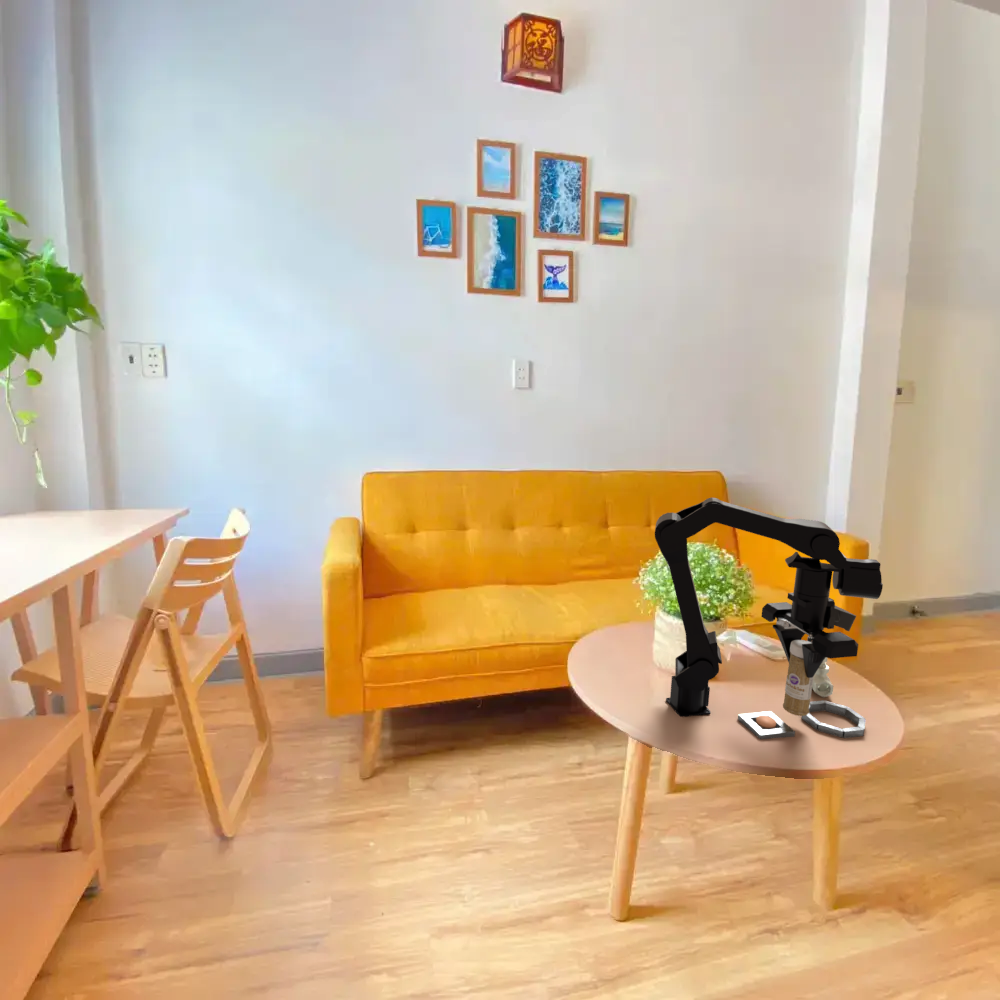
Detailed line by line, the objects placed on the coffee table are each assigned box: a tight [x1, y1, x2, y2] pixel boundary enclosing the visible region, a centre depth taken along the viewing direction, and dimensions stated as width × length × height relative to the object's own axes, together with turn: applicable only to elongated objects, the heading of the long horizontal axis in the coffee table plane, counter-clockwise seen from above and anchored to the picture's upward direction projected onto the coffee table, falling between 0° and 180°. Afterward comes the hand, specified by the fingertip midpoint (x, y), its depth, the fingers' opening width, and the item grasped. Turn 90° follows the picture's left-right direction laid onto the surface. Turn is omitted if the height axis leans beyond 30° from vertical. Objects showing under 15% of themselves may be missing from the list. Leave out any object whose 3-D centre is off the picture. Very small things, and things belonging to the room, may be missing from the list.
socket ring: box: [800, 700, 866, 739], centre depth 115 cm, size 10×10×2 cm
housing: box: [737, 710, 796, 740], centre depth 112 cm, size 7×7×2 cm
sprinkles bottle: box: [782, 639, 814, 717], centre depth 111 cm, size 5×5×13 cm
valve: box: [806, 635, 834, 698], centre depth 127 cm, size 7×7×12 cm
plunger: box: [755, 716, 776, 730], centre depth 112 cm, size 3×3×2 cm
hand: (800, 671), depth 111 cm, fingers closed on sprinkles bottle, 4 cm apart
